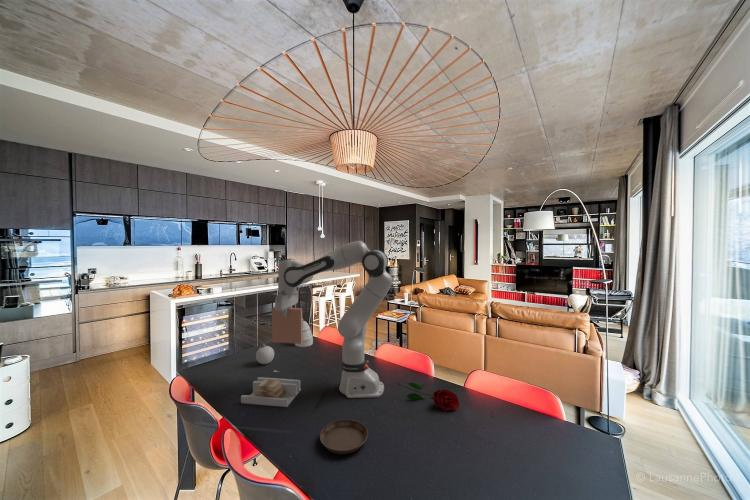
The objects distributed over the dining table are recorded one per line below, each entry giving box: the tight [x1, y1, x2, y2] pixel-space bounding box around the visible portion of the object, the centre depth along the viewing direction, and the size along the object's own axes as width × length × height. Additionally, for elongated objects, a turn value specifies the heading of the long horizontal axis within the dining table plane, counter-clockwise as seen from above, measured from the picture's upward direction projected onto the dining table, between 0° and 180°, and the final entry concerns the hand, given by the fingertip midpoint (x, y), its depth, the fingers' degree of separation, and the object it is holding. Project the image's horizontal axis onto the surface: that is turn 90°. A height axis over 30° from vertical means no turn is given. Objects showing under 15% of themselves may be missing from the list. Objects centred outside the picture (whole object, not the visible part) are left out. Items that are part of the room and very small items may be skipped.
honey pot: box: [294, 318, 314, 348], centre depth 209 cm, size 13×13×18 cm
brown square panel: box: [271, 306, 303, 344], centre depth 151 cm, size 16×2×18 cm, turn 82°
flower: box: [397, 380, 460, 412], centre depth 132 cm, size 9×9×30 cm
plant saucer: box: [319, 419, 369, 455], centre depth 106 cm, size 18×18×3 cm
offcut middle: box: [256, 386, 283, 398], centre depth 133 cm, size 10×6×2 cm, turn 82°
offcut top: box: [258, 380, 281, 392], centre depth 133 cm, size 8×6×2 cm
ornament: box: [255, 343, 275, 365], centre depth 175 cm, size 10×10×12 cm
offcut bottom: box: [255, 391, 285, 398], centre depth 133 cm, size 12×6×2 cm, turn 82°
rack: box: [240, 376, 302, 408], centre depth 136 cm, size 22×16×6 cm
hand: (287, 315), depth 151 cm, fingers closed on brown square panel, 2 cm apart
